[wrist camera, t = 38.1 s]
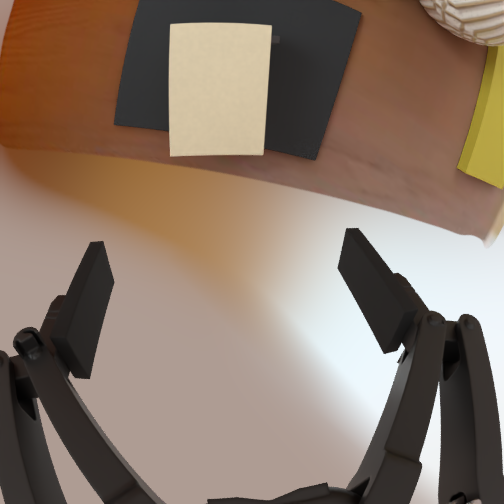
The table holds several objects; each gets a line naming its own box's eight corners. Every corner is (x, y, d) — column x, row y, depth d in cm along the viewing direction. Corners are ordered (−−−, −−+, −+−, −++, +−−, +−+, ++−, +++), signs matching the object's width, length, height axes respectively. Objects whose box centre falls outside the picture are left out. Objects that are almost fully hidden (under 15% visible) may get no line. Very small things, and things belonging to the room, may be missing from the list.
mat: (115, 123, 31) (113, 124, 30) (153, -38, 20) (152, -39, 20) (313, 159, 37) (315, 160, 36) (359, 13, 26) (361, 12, 26)
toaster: (170, 156, 28) (170, 22, 21) (175, 142, 33) (176, 29, 25) (275, 155, 30) (285, 25, 22) (265, 142, 34) (272, 31, 27)
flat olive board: (494, 184, 42) (526, 69, 29) (502, 189, 40) (534, 72, 27) (456, 167, 39) (490, 36, 27) (465, 173, 38) (499, 37, 25)
